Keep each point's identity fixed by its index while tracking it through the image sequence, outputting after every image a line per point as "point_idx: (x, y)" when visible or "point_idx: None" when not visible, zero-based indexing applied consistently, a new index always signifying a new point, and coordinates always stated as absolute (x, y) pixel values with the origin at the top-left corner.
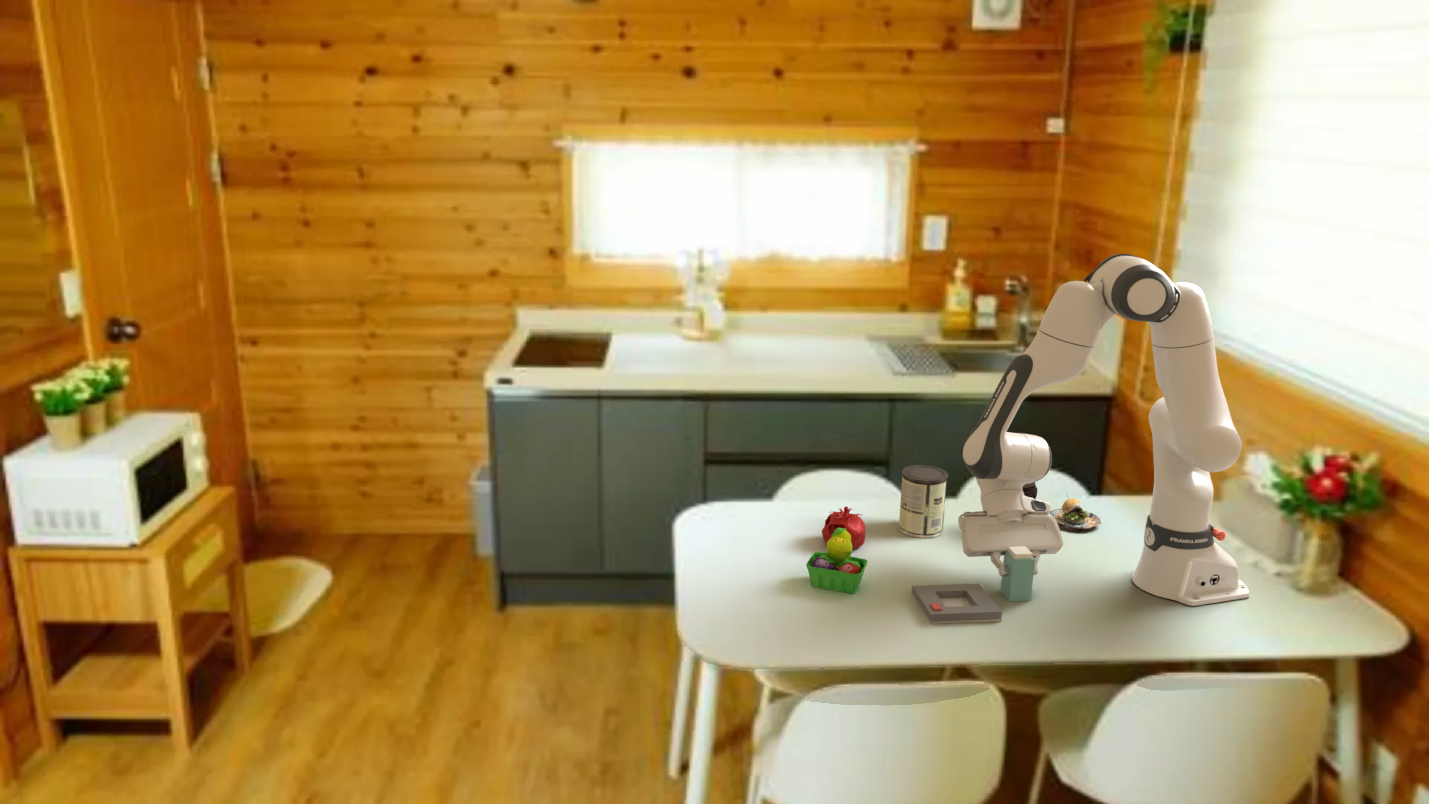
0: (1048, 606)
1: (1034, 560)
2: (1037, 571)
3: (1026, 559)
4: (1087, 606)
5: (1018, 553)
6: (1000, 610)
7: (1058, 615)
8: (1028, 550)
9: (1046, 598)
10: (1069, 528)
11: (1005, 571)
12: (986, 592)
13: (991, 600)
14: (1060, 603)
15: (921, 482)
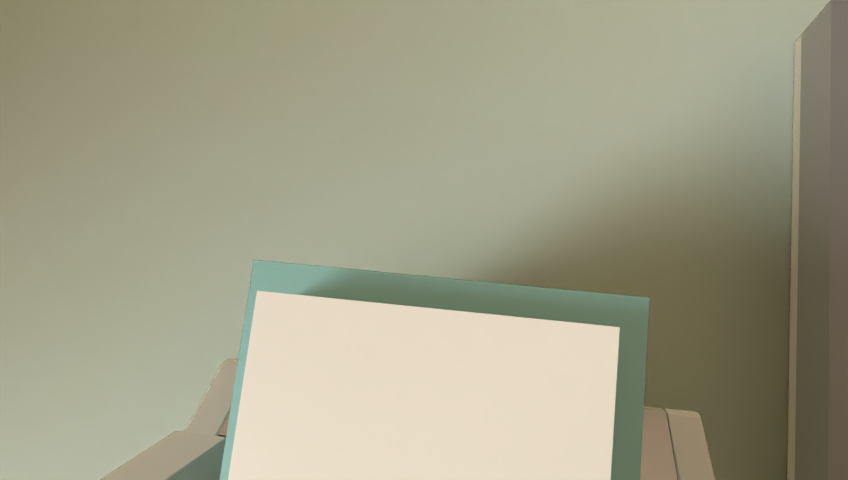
0: (290, 205)
1: (273, 264)
2: (229, 361)
3: (405, 280)
4: (7, 158)
5: (535, 352)
6: (835, 21)
7: (297, 64)
8: (255, 453)
9: (228, 335)
10: None
11: (657, 421)
12: (830, 374)
13: (844, 209)
14: (171, 235)
15: None
